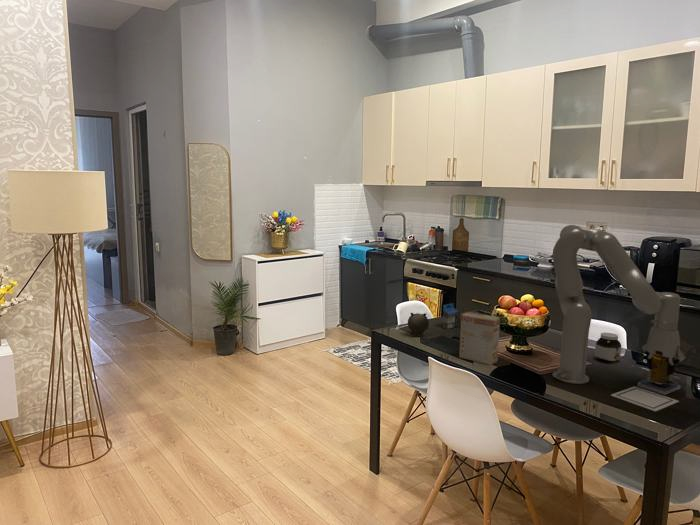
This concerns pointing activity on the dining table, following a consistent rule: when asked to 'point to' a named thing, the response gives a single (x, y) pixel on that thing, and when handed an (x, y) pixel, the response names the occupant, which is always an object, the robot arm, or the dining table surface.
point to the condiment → (660, 369)
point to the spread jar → (608, 348)
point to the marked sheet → (644, 398)
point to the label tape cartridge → (450, 316)
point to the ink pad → (659, 386)
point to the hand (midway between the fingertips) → (660, 371)
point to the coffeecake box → (479, 337)
